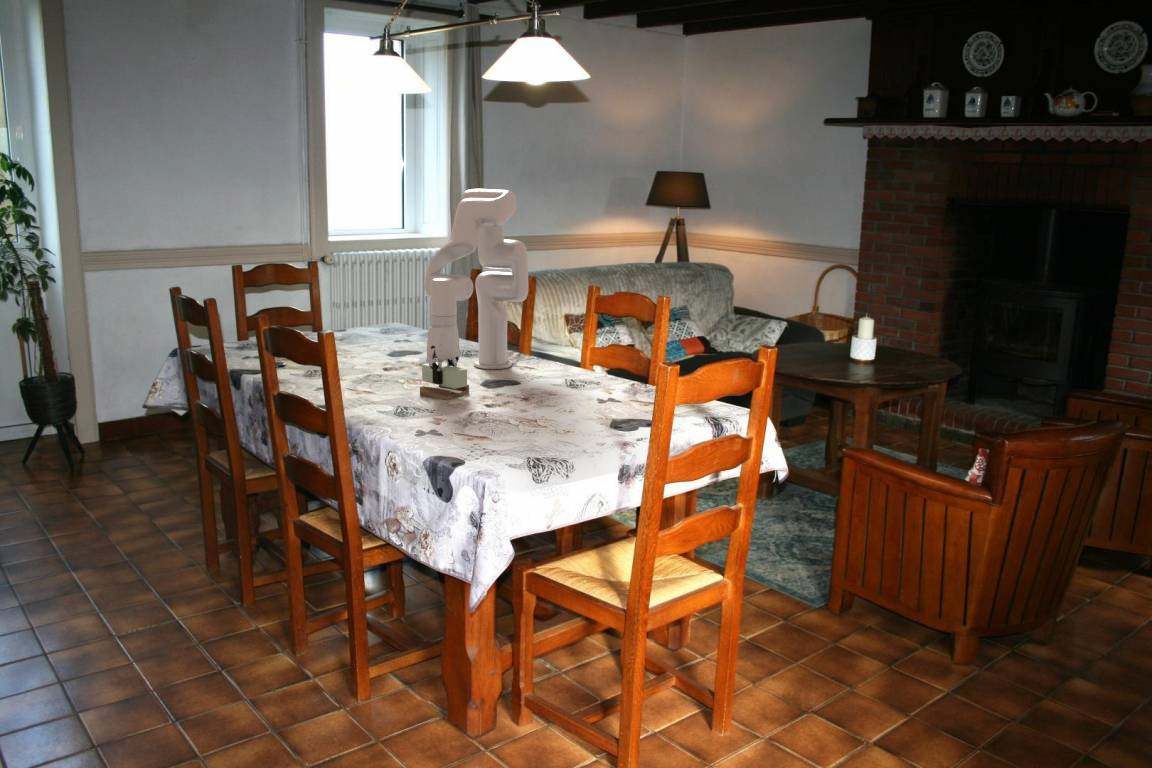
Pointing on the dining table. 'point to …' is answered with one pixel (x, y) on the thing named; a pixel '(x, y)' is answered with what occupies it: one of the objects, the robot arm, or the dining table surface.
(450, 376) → the peg
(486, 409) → the dining table surface
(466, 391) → the cradle
